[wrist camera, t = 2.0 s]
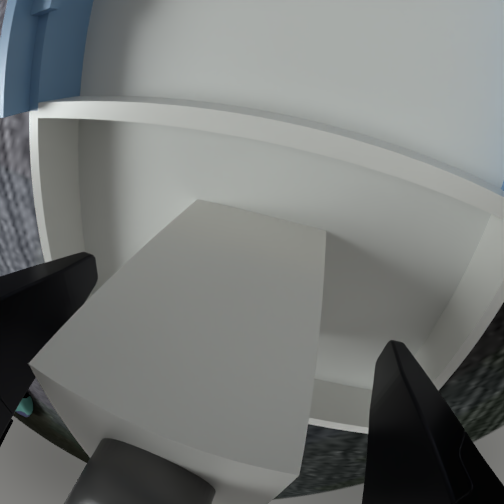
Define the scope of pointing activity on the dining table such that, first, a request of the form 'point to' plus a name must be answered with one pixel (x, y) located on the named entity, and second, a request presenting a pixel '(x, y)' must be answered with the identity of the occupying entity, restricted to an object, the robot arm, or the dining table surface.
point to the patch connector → (194, 363)
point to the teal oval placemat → (25, 407)
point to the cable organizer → (283, 152)
